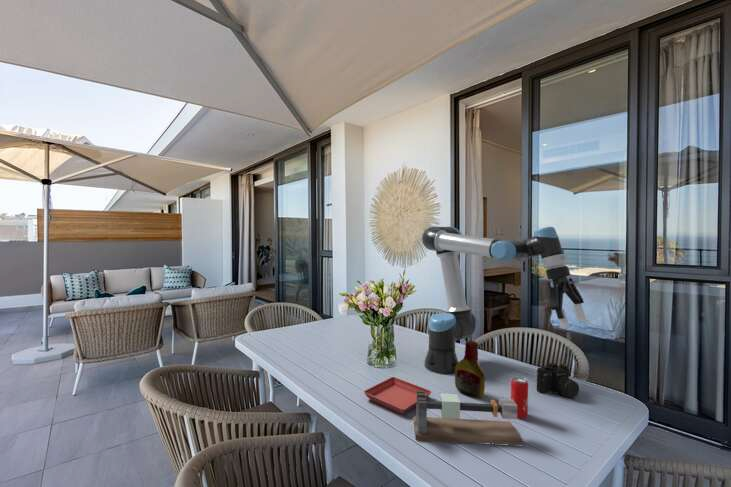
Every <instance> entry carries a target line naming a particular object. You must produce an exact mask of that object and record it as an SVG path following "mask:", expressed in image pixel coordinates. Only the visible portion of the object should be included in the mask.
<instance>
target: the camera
mask: <svg viewBox="0 0 731 487" xmlns="http://www.w3.org/2000/svg"><path fill="white" fill-rule="evenodd" d="M535 389H536V392H538V393H539V394H547V392H548V393H555V394H561V395H563V396H566V397H567V398H569V399H570V398H571V399H573V398H576V397H577V395H578V394H579V391H580V386H579V383H578V382H576V381H575V380H574V379H571V378H570V368H569V367H568V365H566V364H565V363H561V364H559V366H558V364H557V363H556V362H550V363H548V365H545V364H544V365H543V366H542V367H541V366H540V367H538V368H537V370H536V388H535Z"/></svg>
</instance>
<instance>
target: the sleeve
mask: <svg viewBox="0 0 731 487" xmlns="http://www.w3.org/2000/svg"><path fill="white" fill-rule="evenodd" d="M439 401H440V402H442V409H439V410H440V413H441V418H450V419H461V410H460V403H461V401H460V398H459V396H458V394H456V393H440V400H439Z"/></svg>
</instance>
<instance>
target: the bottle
mask: <svg viewBox="0 0 731 487" xmlns="http://www.w3.org/2000/svg"><path fill="white" fill-rule="evenodd" d="M478 346H479V344H478V342H476V341H474V340H468V341H466V343H465V350H464V355H463V358H462V359H460V361H458V363H457V364H456V368H455V372H454V385H455V388H456V389H457V391H458V392H460V393H463V394H465V395H467V396H469V397H473V398H482V397H483V396H484V393H485V387H486V386H485V385H486V375H485V372H484V369H483V368H482V366H481V365H480V364H479V358H478V356H479V353H478V352H479V350H478Z"/></svg>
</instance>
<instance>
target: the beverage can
mask: <svg viewBox="0 0 731 487" xmlns="http://www.w3.org/2000/svg"><path fill="white" fill-rule="evenodd" d="M510 400H514V402H515V403H516V405H517V419H518V418H525V419H526V418H527V416H528V410H529V409H528V408H529V404H528V403H529V382H528V379H526V378H524V377H520V376H513V377H512V378H511V381H510Z"/></svg>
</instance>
